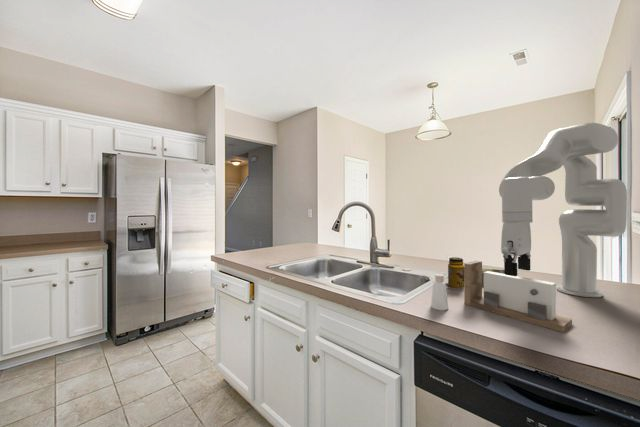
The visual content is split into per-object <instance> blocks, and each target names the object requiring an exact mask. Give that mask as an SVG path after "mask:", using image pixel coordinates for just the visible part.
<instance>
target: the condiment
mask: <svg viewBox="0 0 640 427" xmlns="http://www.w3.org/2000/svg"><path fill="white" fill-rule="evenodd" d="M448 260H449V261H448V264H447V282H445V284H446V289H454V290H464V259H463V258H461V257H455V256H454V257H453V256H452V257H449V259H448Z"/></svg>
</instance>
